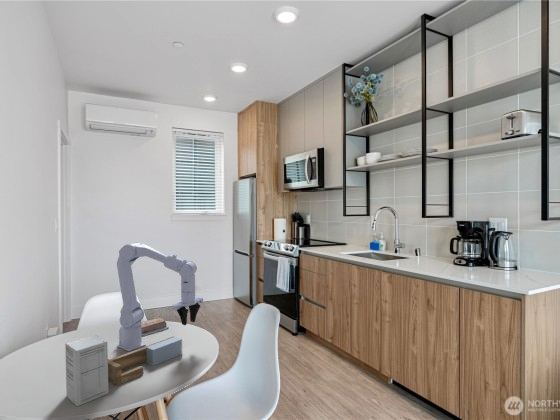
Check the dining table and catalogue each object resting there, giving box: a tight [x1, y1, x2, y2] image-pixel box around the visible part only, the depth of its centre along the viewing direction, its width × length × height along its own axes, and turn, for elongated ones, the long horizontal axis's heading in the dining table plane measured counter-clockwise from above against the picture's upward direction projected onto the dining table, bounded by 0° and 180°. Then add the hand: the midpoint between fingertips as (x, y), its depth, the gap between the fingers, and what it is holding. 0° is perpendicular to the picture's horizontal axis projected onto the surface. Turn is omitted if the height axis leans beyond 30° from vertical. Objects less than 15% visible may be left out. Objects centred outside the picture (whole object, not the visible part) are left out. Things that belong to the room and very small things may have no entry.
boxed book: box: [145, 336, 183, 366], centre depth 133 cm, size 4×13×6 cm, turn 142°
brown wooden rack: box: [108, 336, 175, 386], centre depth 127 cm, size 10×30×6 cm, turn 144°
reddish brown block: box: [141, 317, 169, 337], centre depth 162 cm, size 18×5×10 cm
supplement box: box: [64, 334, 109, 407], centre depth 106 cm, size 10×9×17 cm
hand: (188, 323), depth 142 cm, fingers open, 4 cm apart
